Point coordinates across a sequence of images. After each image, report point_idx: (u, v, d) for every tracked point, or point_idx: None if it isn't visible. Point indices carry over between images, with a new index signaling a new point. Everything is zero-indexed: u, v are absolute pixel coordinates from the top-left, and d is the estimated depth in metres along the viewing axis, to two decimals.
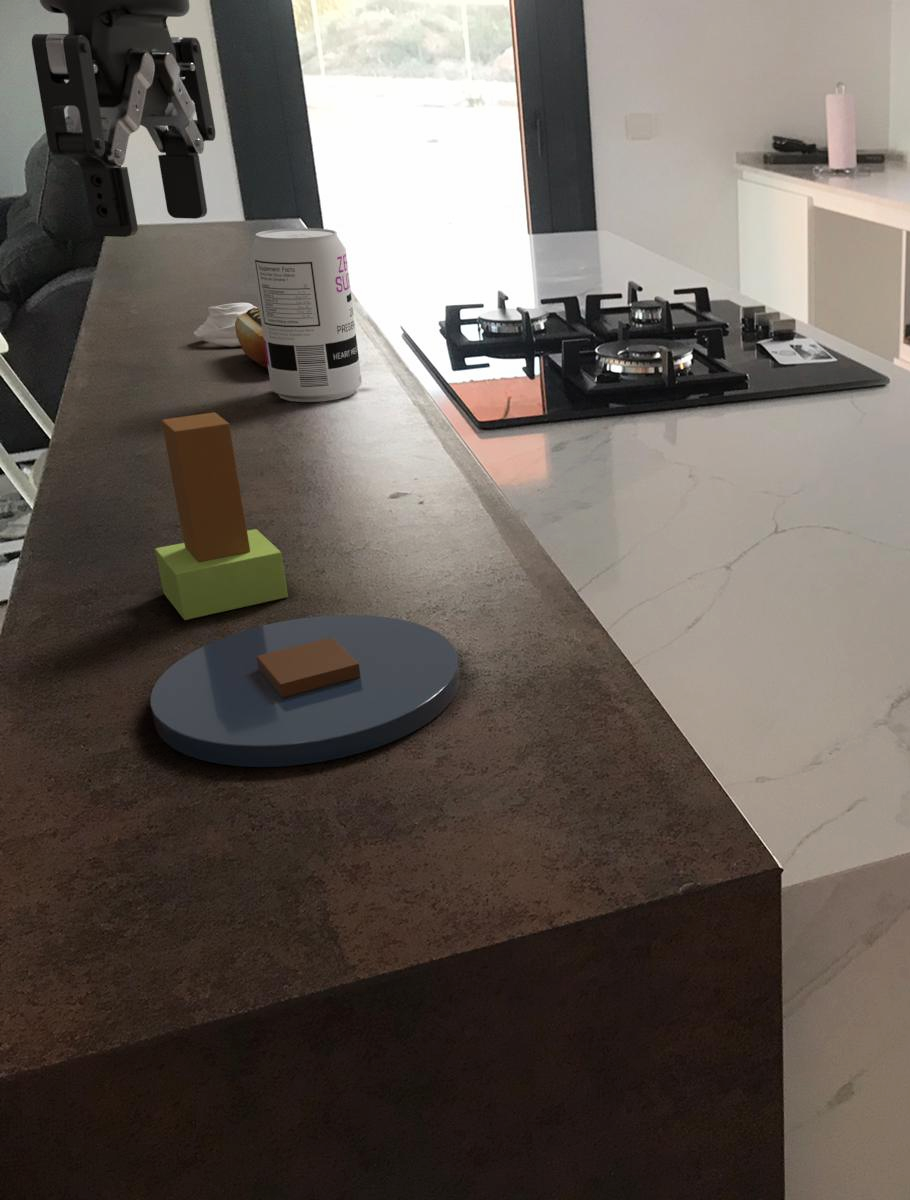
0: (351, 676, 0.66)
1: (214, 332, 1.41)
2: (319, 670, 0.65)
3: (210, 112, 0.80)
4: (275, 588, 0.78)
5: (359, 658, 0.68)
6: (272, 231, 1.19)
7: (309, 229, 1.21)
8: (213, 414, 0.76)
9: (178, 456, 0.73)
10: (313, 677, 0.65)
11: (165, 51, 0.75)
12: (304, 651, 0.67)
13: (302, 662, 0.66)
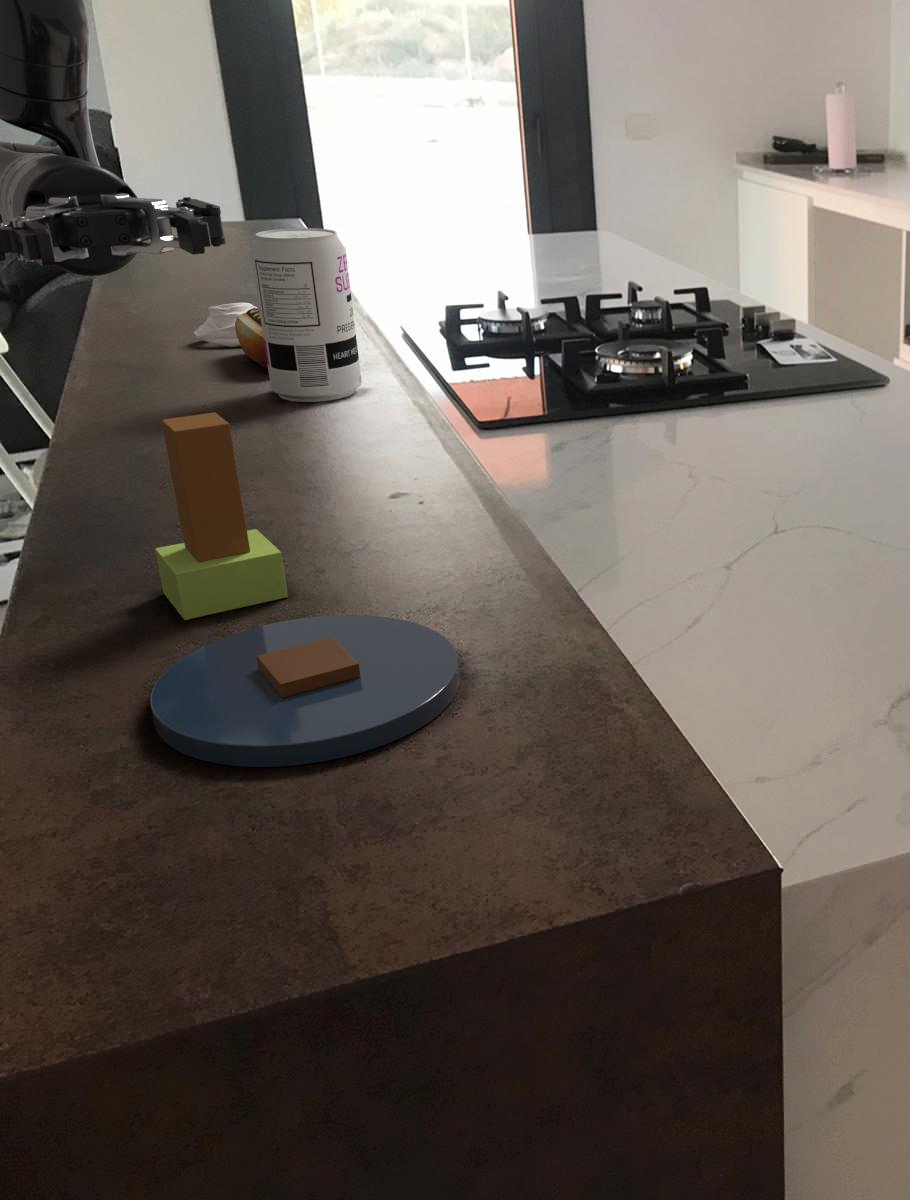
0: (351, 676, 0.66)
1: (214, 332, 1.41)
2: (319, 670, 0.65)
3: None
4: (275, 588, 0.78)
5: (359, 658, 0.68)
6: (272, 231, 1.19)
7: (309, 229, 1.21)
8: (213, 414, 0.76)
9: (178, 456, 0.73)
10: (313, 677, 0.65)
11: None
12: (304, 651, 0.67)
13: (302, 662, 0.66)
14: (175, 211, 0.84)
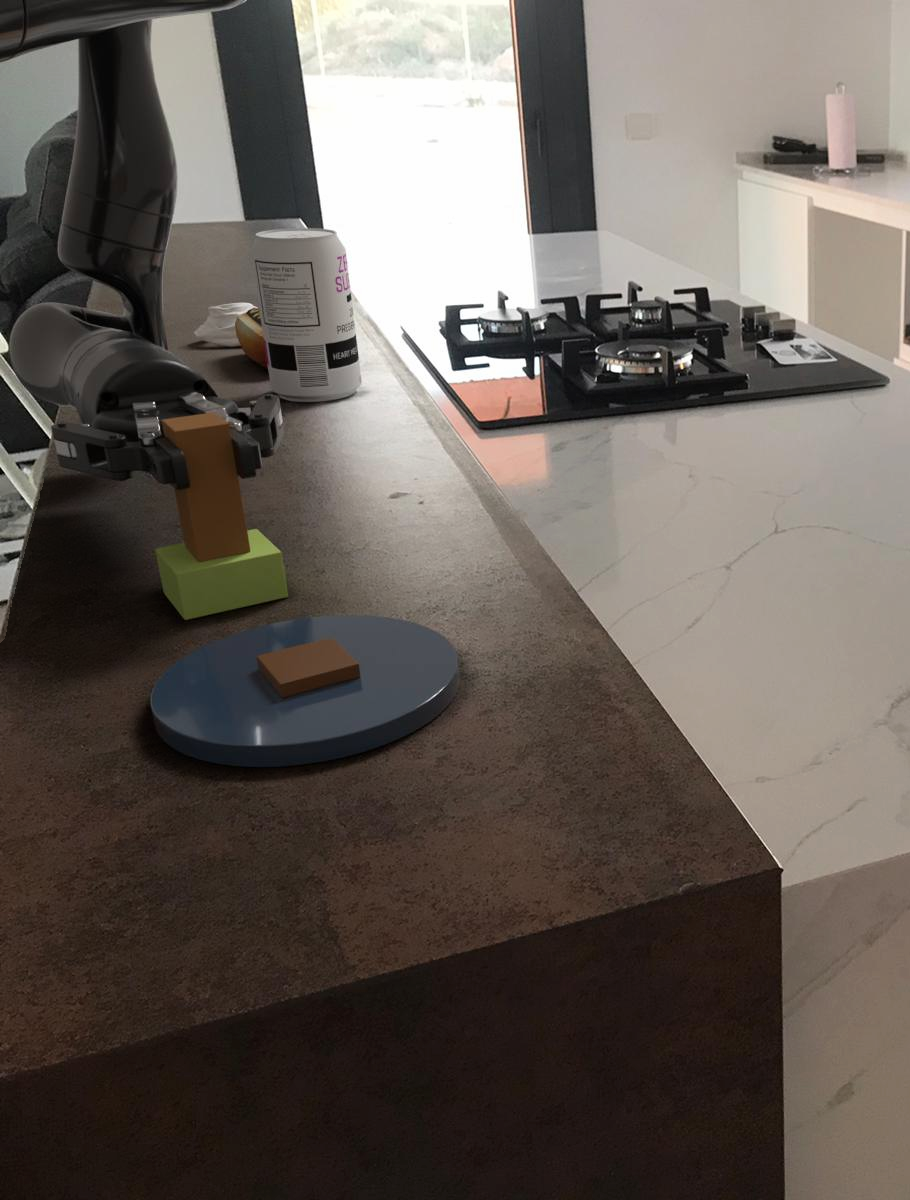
0: (351, 676, 0.66)
1: (214, 332, 1.41)
2: (319, 670, 0.65)
3: None
4: (275, 588, 0.78)
5: (359, 658, 0.68)
6: (272, 231, 1.19)
7: (309, 229, 1.21)
8: (213, 414, 0.76)
9: None
10: (313, 677, 0.65)
11: None
12: (304, 651, 0.67)
13: (302, 662, 0.66)
14: None
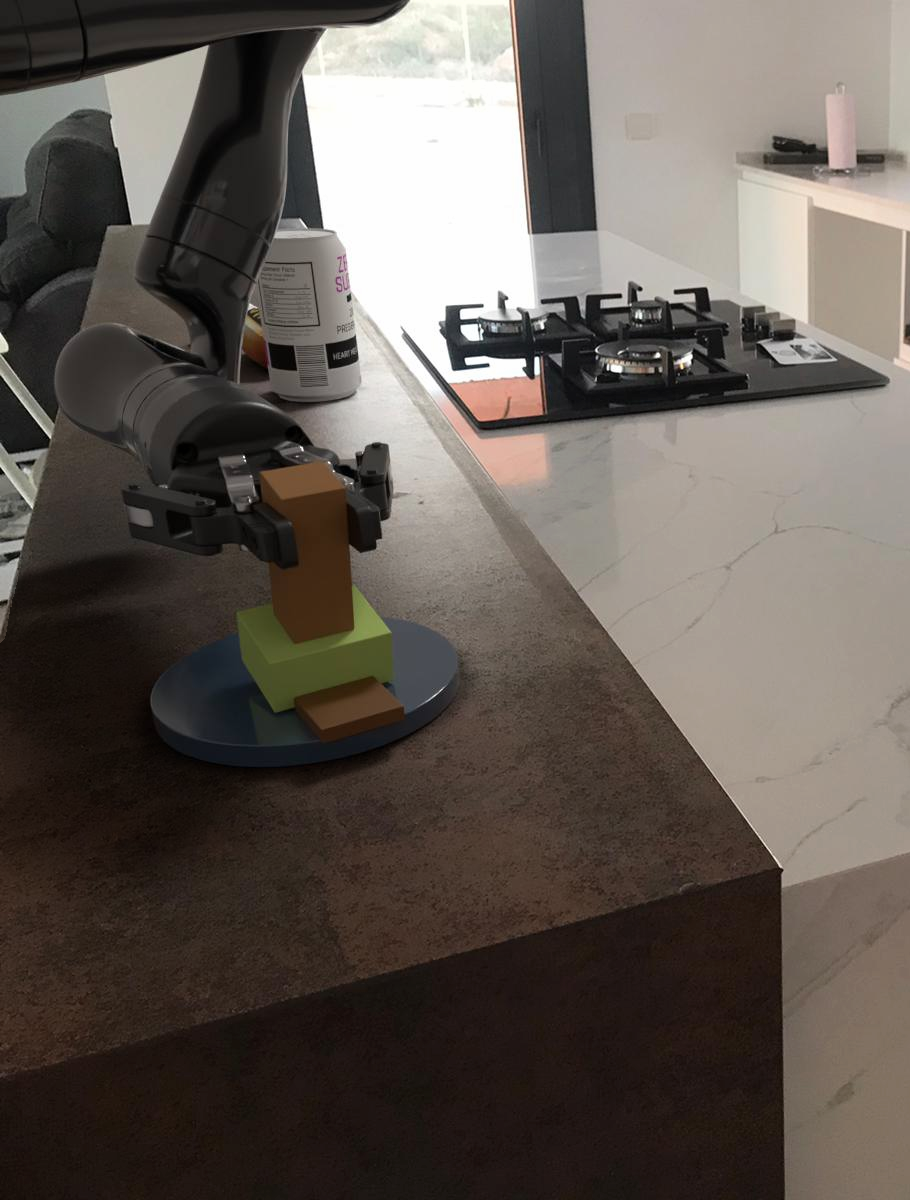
0: (395, 719, 0.62)
1: None
2: (362, 713, 0.61)
3: None
4: (380, 672, 0.65)
5: None
6: None
7: (309, 229, 1.21)
8: (322, 465, 0.61)
9: None
10: (356, 721, 0.60)
11: None
12: (344, 692, 0.63)
13: (343, 704, 0.62)
14: None
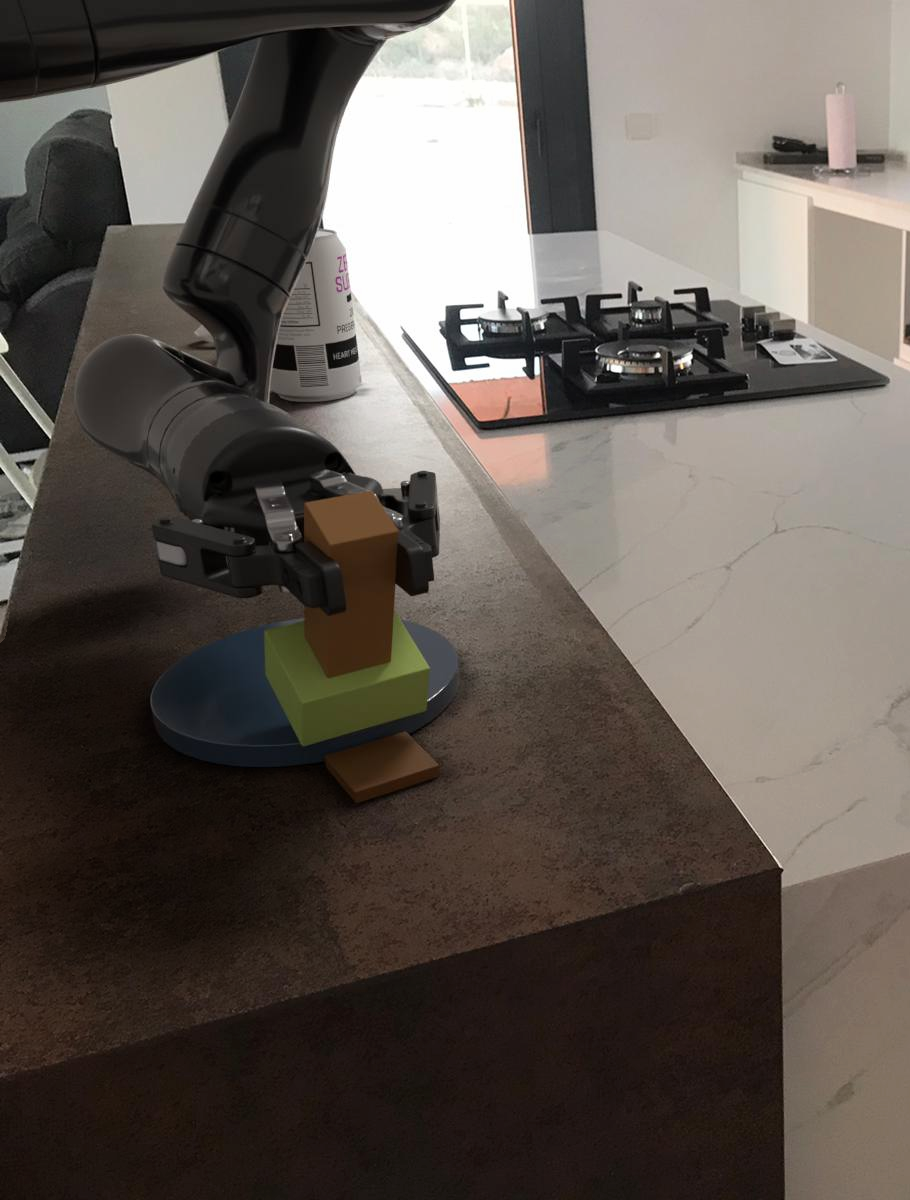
0: None
1: None
2: (396, 774, 0.59)
3: None
4: (414, 704, 0.61)
5: None
6: None
7: None
8: (371, 497, 0.56)
9: None
10: (390, 782, 0.58)
11: None
12: (377, 749, 0.61)
13: (376, 763, 0.60)
14: None
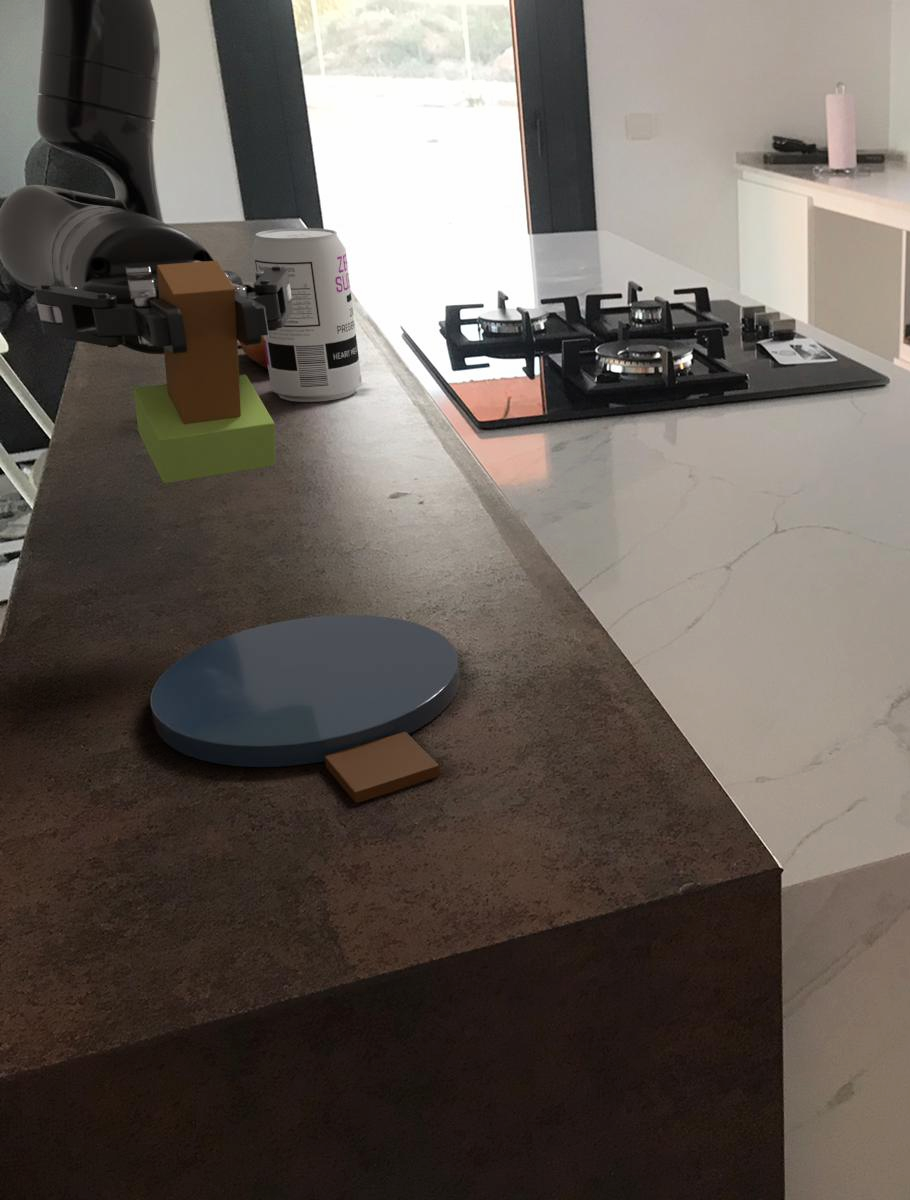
0: None
1: None
2: (396, 774, 0.59)
3: None
4: (263, 457, 0.72)
5: (359, 658, 0.68)
6: (272, 231, 1.19)
7: (309, 229, 1.21)
8: (215, 265, 0.67)
9: None
10: (390, 783, 0.58)
11: None
12: (377, 750, 0.61)
13: (376, 764, 0.60)
14: None
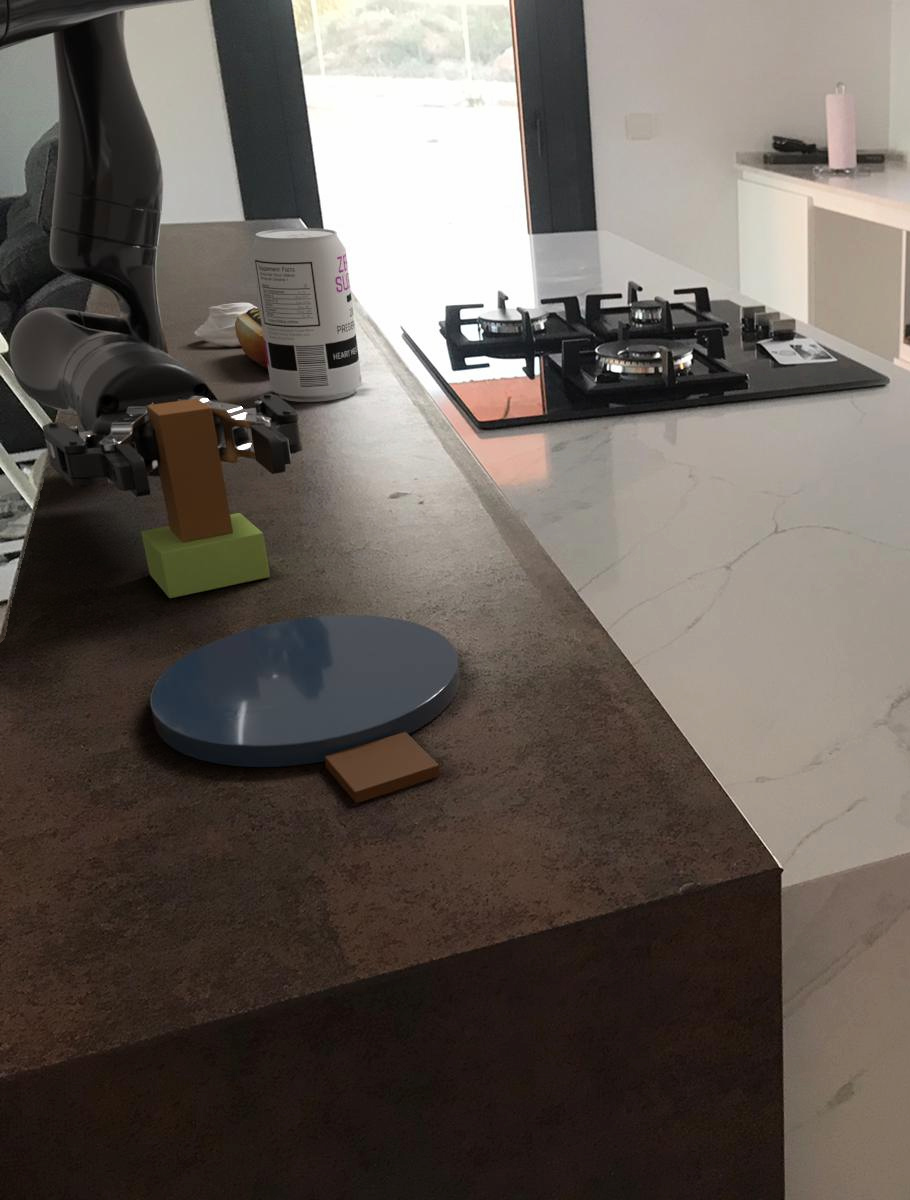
0: None
1: (214, 332, 1.41)
2: (396, 774, 0.59)
3: None
4: (257, 568, 0.81)
5: (359, 658, 0.68)
6: (272, 231, 1.19)
7: (309, 229, 1.21)
8: (196, 400, 0.79)
9: (162, 439, 0.76)
10: (390, 782, 0.58)
11: None
12: (376, 750, 0.61)
13: (376, 764, 0.60)
14: (251, 422, 0.78)
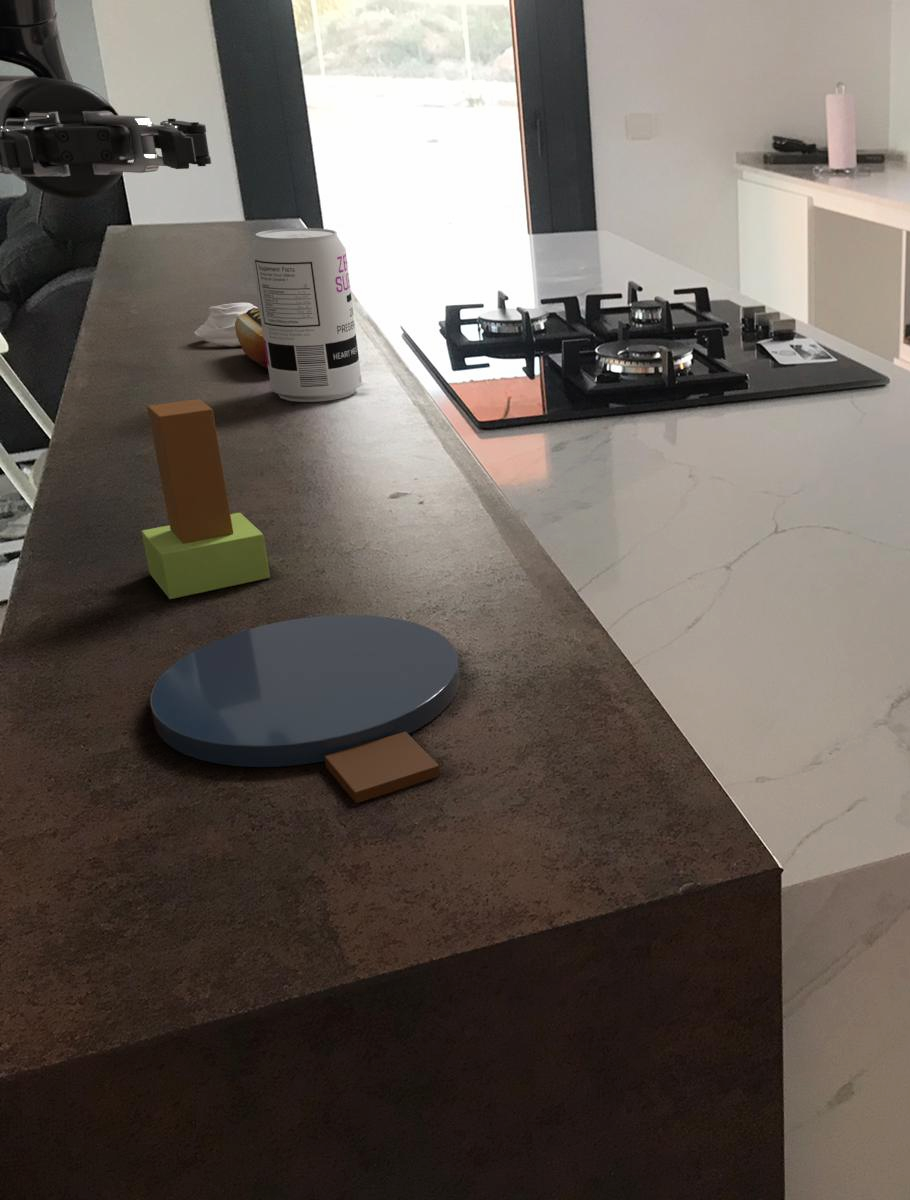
0: None
1: (214, 332, 1.41)
2: (396, 774, 0.59)
3: None
4: (257, 569, 0.81)
5: (359, 658, 0.68)
6: (272, 231, 1.19)
7: (309, 229, 1.21)
8: (197, 400, 0.78)
9: (163, 440, 0.76)
10: (390, 783, 0.58)
11: None
12: (377, 750, 0.61)
13: (376, 764, 0.60)
14: (159, 127, 0.82)
